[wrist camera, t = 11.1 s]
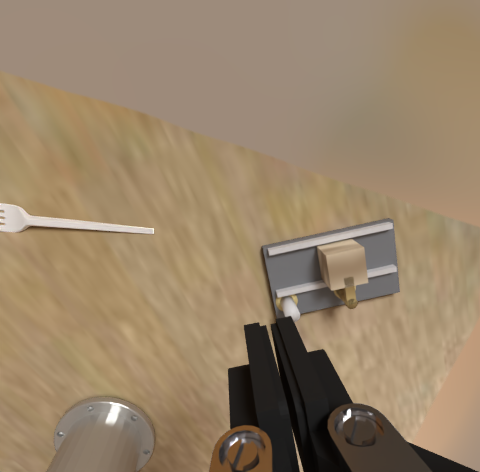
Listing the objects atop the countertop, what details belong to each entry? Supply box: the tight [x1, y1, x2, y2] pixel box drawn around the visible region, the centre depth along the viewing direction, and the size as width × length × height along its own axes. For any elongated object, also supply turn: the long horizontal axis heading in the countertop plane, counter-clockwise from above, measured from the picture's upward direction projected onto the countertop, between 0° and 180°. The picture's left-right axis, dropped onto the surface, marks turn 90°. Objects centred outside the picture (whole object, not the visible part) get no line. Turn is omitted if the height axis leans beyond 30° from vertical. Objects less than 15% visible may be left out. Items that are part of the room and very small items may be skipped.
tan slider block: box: [317, 239, 368, 309], centre depth 36 cm, size 7×4×4 cm, turn 12°
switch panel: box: [262, 218, 400, 322], centre depth 37 cm, size 9×15×4 cm, turn 102°
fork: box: [0, 203, 154, 234], centre depth 36 cm, size 3×20×2 cm, turn 84°
